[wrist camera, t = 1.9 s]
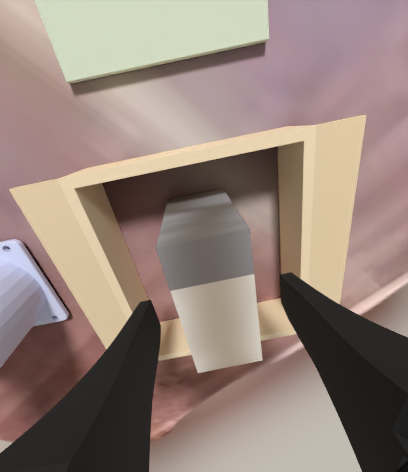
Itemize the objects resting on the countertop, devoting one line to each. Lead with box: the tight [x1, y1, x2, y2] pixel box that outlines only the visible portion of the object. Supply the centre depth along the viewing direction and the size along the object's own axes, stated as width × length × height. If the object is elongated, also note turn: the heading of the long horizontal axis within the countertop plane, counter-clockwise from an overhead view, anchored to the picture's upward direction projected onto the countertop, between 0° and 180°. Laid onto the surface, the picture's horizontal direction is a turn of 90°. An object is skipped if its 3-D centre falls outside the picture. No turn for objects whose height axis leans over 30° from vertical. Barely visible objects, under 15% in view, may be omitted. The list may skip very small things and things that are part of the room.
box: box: [156, 188, 262, 373], centre depth 14 cm, size 4×9×7 cm, turn 11°
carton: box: [9, 115, 366, 361], centre depth 16 cm, size 18×15×4 cm
